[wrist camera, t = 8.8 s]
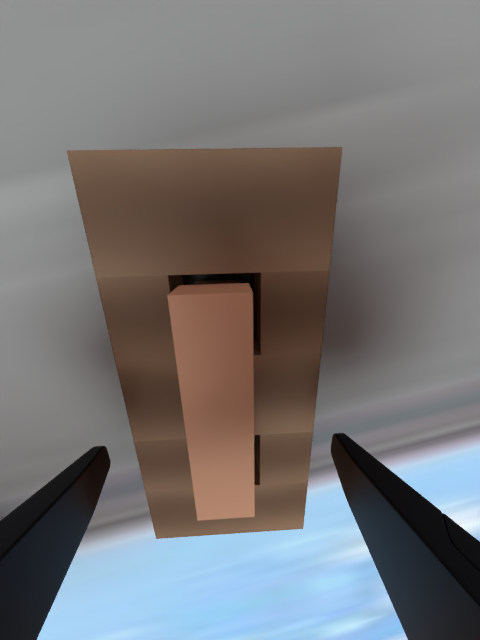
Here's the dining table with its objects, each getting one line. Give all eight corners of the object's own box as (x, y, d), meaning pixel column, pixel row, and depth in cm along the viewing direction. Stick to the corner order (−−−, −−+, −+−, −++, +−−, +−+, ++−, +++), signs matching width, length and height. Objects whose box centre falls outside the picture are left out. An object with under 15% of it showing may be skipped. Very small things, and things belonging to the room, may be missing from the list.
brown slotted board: (291, 484, 18) (302, 528, 16) (167, 492, 18) (156, 538, 15) (313, 171, 11) (342, 147, 8) (109, 174, 11) (66, 150, 8)
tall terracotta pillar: (247, 438, 17) (254, 516, 12) (206, 441, 16) (197, 520, 12) (244, 274, 13) (252, 292, 8) (190, 275, 13) (167, 295, 8)
